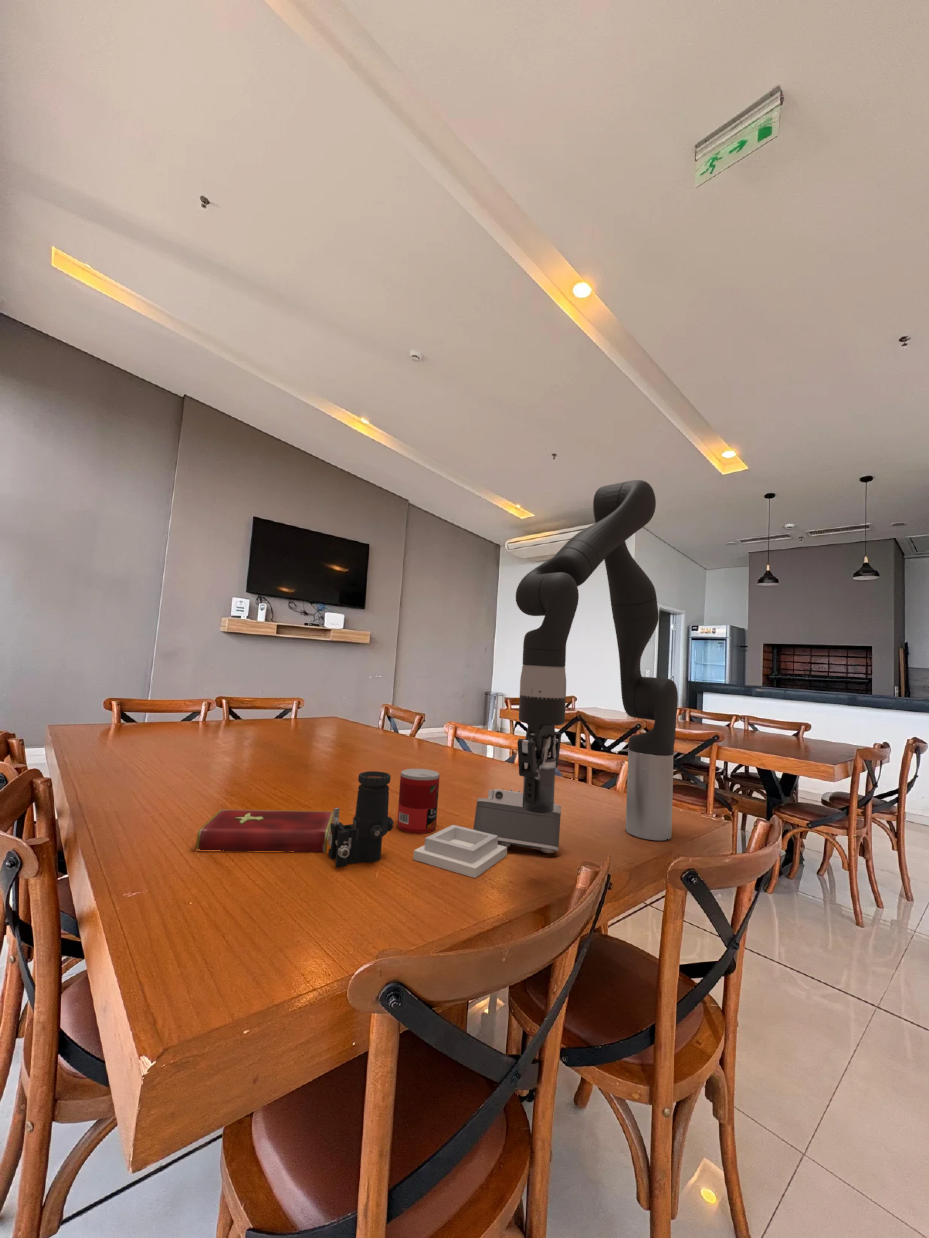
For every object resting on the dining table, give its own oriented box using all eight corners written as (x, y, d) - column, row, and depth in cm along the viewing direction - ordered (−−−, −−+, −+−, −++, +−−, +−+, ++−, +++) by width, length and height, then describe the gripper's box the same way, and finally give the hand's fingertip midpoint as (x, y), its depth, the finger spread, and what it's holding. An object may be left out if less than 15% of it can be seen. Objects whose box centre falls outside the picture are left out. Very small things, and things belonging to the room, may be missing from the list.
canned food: (434, 835, 99) (438, 778, 100) (394, 832, 99) (398, 775, 100) (437, 823, 107) (440, 769, 108) (399, 820, 107) (403, 767, 108)
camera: (559, 852, 90) (563, 793, 95) (470, 838, 93) (478, 780, 98) (555, 857, 98) (558, 802, 103) (473, 844, 101) (480, 790, 106)
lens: (529, 801, 86) (531, 753, 86) (558, 807, 83) (560, 757, 84) (517, 808, 81) (519, 758, 82) (547, 815, 79) (549, 762, 79)
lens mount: (449, 840, 97) (450, 821, 97) (506, 855, 91) (507, 835, 91) (413, 859, 87) (414, 838, 87) (475, 878, 81) (476, 855, 81)
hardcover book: (325, 855, 87) (327, 830, 88) (195, 855, 84) (197, 828, 84) (332, 831, 99) (334, 809, 99) (218, 830, 96) (220, 807, 96)
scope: (333, 770, 88) (388, 768, 93) (326, 853, 87) (382, 846, 92) (345, 782, 81) (404, 778, 86) (338, 872, 80) (398, 863, 85)
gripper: (549, 697, 76) (544, 815, 74) (577, 694, 88) (574, 794, 87) (503, 693, 79) (498, 805, 78) (537, 690, 92) (533, 786, 90)
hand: (538, 798), depth 82 cm, fingers closed on lens, 5 cm apart
